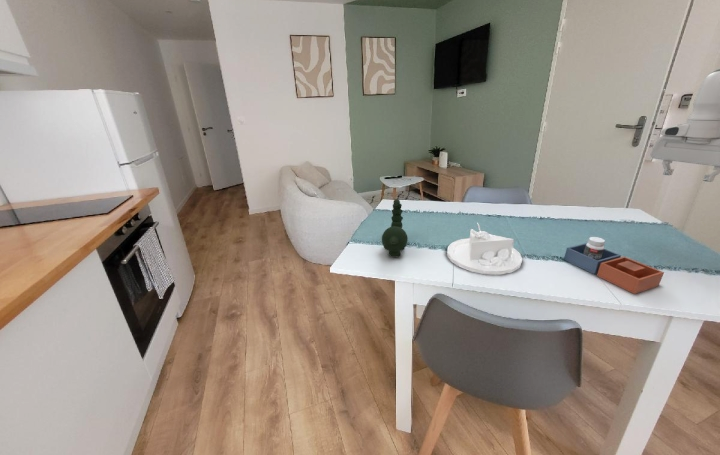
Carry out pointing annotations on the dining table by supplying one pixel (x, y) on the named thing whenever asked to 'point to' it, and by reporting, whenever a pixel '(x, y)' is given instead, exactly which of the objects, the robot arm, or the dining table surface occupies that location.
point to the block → (631, 269)
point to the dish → (485, 253)
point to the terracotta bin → (630, 276)
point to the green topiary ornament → (395, 232)
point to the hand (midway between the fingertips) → (686, 177)
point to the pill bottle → (594, 248)
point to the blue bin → (587, 258)
